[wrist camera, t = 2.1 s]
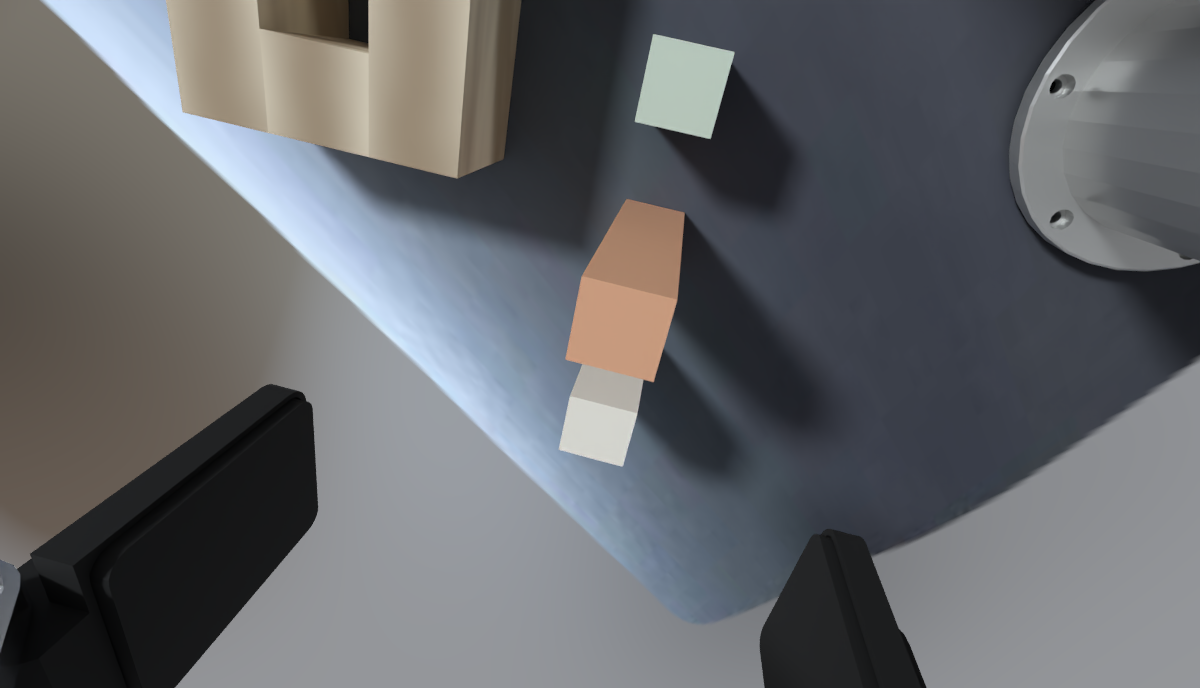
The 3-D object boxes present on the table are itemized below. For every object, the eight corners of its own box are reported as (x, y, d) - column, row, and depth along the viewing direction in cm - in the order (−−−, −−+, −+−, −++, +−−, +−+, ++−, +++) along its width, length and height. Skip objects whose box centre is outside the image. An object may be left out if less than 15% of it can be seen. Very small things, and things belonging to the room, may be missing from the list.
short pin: (727, 57, 24) (734, 52, 19) (707, 128, 25) (710, 139, 21) (661, 42, 24) (653, 34, 20) (645, 114, 25) (634, 121, 21)
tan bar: (684, 212, 27) (677, 299, 16) (669, 268, 28) (653, 382, 18) (626, 198, 27) (581, 276, 17) (614, 254, 29) (565, 359, 18)
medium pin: (651, 334, 30) (637, 413, 23) (638, 379, 32) (622, 466, 25) (599, 321, 30) (570, 395, 23) (589, 366, 32) (558, 449, 25)
